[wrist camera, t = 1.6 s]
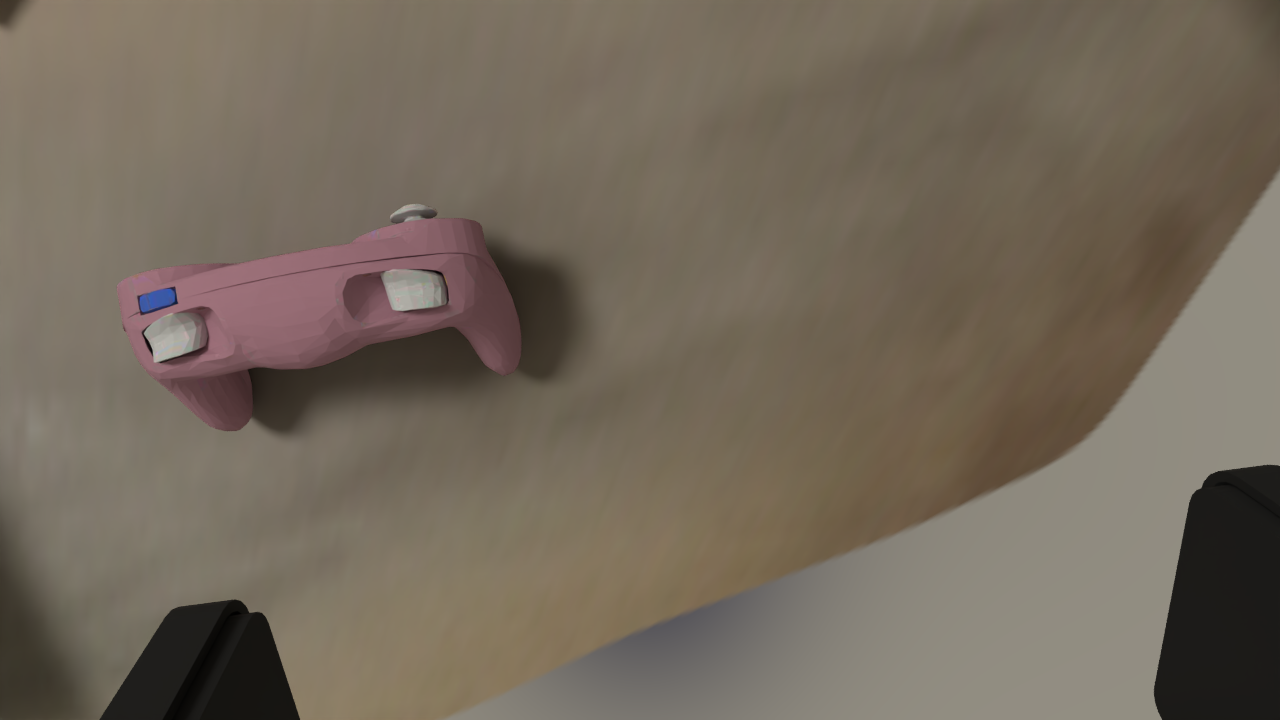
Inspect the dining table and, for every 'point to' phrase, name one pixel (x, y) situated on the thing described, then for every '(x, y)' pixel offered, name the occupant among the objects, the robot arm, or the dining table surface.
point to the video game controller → (316, 309)
